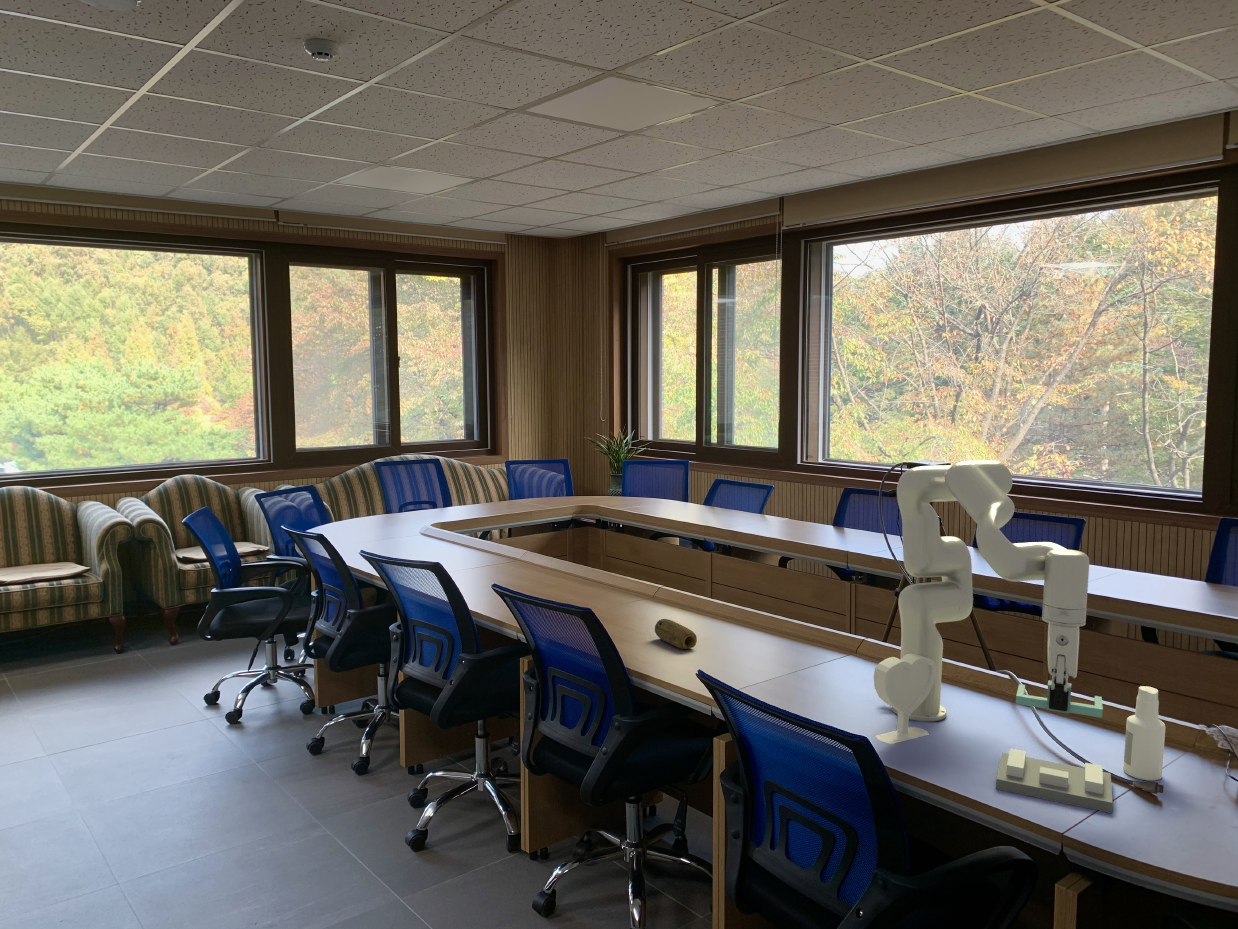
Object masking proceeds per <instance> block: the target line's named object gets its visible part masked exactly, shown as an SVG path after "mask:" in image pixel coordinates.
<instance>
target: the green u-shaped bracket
mask: <svg viewBox="0 0 1238 929" xmlns="http://www.w3.org/2000/svg"><path fill="white" fill-rule="evenodd" d="M1047 682H1048V683H1047V697H1043V696H1035V695H1031V694H1025V693H1026V684H1018V688H1017V692H1016V695H1015V704H1016V705H1024V706H1028V707H1034V708H1040V709H1045V710H1046V711H1051V712H1058V713H1064V714H1070V713H1071V714H1077V715H1084V716H1090V717H1096V718H1103V713H1104V712H1103V710H1104V707H1103V698H1102V696H1099V695H1094V700H1093V701H1094V705H1093V704H1088V703H1081V702H1074V701H1071V700H1072V699H1071V698H1072V697H1071V696H1072V683H1071V682H1070V683H1069V682H1068V686H1067V691H1069V693H1068V709H1067V711H1059V710H1053V709H1050V708H1049V696H1050V688H1051V686H1052V680H1050V679H1049V680H1048V681H1047ZM1054 689H1055V688H1054Z"/></svg>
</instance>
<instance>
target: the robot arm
mask: <svg viewBox="0 0 1238 929" xmlns="http://www.w3.org/2000/svg"><path fill="white" fill-rule="evenodd" d="M1012 487H1013V477H1012V473H1011V471H1010V469H1009V468H1008V466H1006V465H1005V464H1004V463H1002V462H1001V461H998V460H989V459H988V460H964V461H960V462H957V463H954V464H952V465H951V464H950V465H947V464H946V465H921V466H915V467H912V468H909V469H907V470H906V471H904V472H903V473H902V474H901V476H900V477H899V479H898V483H897V486H896V499H897V505H898V509H899V511H900V516H901V523H902V524H901V526H902V527H901V529H902V530H901V532H902V533H901V534H902V535H901V536H902V554H903V555H902V556H903V557H902V558H903V566H904V568H905V570H906V572H907V574H908V576H909V575H910V576H911V577H915V578H936V577H937V578H938V577H941V581H938V582H935V581H933V582H919V583H914V584H910V585H907V586H906V587H904V588H903V589H902V590H901V591H900V593H899V595H898V602H897V603H898V610H899V616H900V630H901V633H900V634H901V635H900V636H901V639H900V658H899V659H901V658H902V657H904V656H905V655H906V654H917V655H920V656H923V657H926V658H929V659H931V660H933V661H934V662H935V664H936V674H935V680H934V684H933V686H932V688H931V690H930V693H929V694H928V696H927V697H926V698H925V700H924V701H923V702H922V703H921V704H920V705H919V706H918V707H917V708H916V709H915V710H914V711H913V712H912V713H911V715H910V716H909V720H911V721H912V720H913V721H918V722H937V721H941V720H944V719H946V717H947V712H948V711H947V709H946V707H945V706H943V705H942V704H941V694H942V693H941V690H942V671H943V656H944V655H943V654H944V652H943V650H944V643H943V639H942V636H941V633H940V632H939V630H938V629H937V626H936V624H938V623H939V624H940V623H949V622H950V623H951V622H959V621H962V620H965V619H966V618H968V617H969V616H970V615H971V612H972V609H973V606H974V605H973V604H974V596H973V595H974V593H973V590H974V589H973V567H972V557H971V552H970V550H969V548H968V546H967V544H966V543H965V541H963V540H962V539H961V538H960V537H956V536H951V535H949V536H941V530H940V528H941V527H940V526H941V525H940V518H939V516H938V513H937V512H936V510H935V508H934V507H933V506H932V505H931V504H930V503H934V502H958V503H959V504H960V505H961V507H962V508H963V509H964V510H965V511H966V513H967V514H968V515H969V517H970V518H972V520H973V521H974V522H975V523H976V525H977V526H976V531H975V538H976V544H977V547H978V552H979V553H980V555H981V556H982V558H983V560H984V561H985V562H986V563H987V564H988V566H989V567H990V569H992V571H993V572H995V574H997V575H998V576H999V577H1000V578H1002V579H1003V580H1005V581H1008V582H1012V583H1013V582H1015V583H1016V582H1025V581H1026V582H1029V581H1043V591H1042V592H1043V593H1042V594H1043V595H1042V612H1041V613H1042V614H1041V620H1042V621H1043V622H1045V623H1047V624H1048V626H1047V627H1048V628H1047V668H1048V674H1050V676H1051V681H1052V686H1051V688H1050V696H1049V708H1050V709H1053V710H1059V711H1067V709H1068V693H1069V691H1067V686H1068V683H1069V682H1068V681H1069V677H1072V679H1076V678H1077V674H1078V664H1079V649H1080V648H1079V646H1080V627H1084V626H1086V624H1087V623H1086V620H1087V609H1088V608H1087V607H1088V606H1087V602H1088V593H1089V592H1088V590H1089V589H1088V588H1089V577H1090V576H1089V575H1090V558H1089V556H1088V555H1087V554H1086V553H1085V552H1083V551H1080V550H1076V549H1067V548H1066V547H1064V546H1062V545H1060V544H1058V543H1055V542H1051V541H1038V542H1037V541H1034V542H1033V541H1032V542H1017V543H1016V542H1015V543H1012V542H1011V541H1010V540H1009V539H1008V538H1007V537H1006V536H1005V535H1004V533H1003V532H1002V531H1001V528H1003V527H1004V526H1005V525H1006V524H1007V523H1008V522H1009V521H1010V520H1011V519H1012V517H1013V516H1014V514H1015V513H1014V512H1015V509H1016V508H1015V506H1016V505H1015V503H1014V502H1013V500H1012V499H1011V498H1010V497H1009V496H1008V493H1009V492H1010V491H1011V490H1012ZM1054 688H1055V689H1054ZM891 710H892V712H893V713H895V715H897V716H898V711H897V710H896V709H895V708H893V707H891Z"/></svg>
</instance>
